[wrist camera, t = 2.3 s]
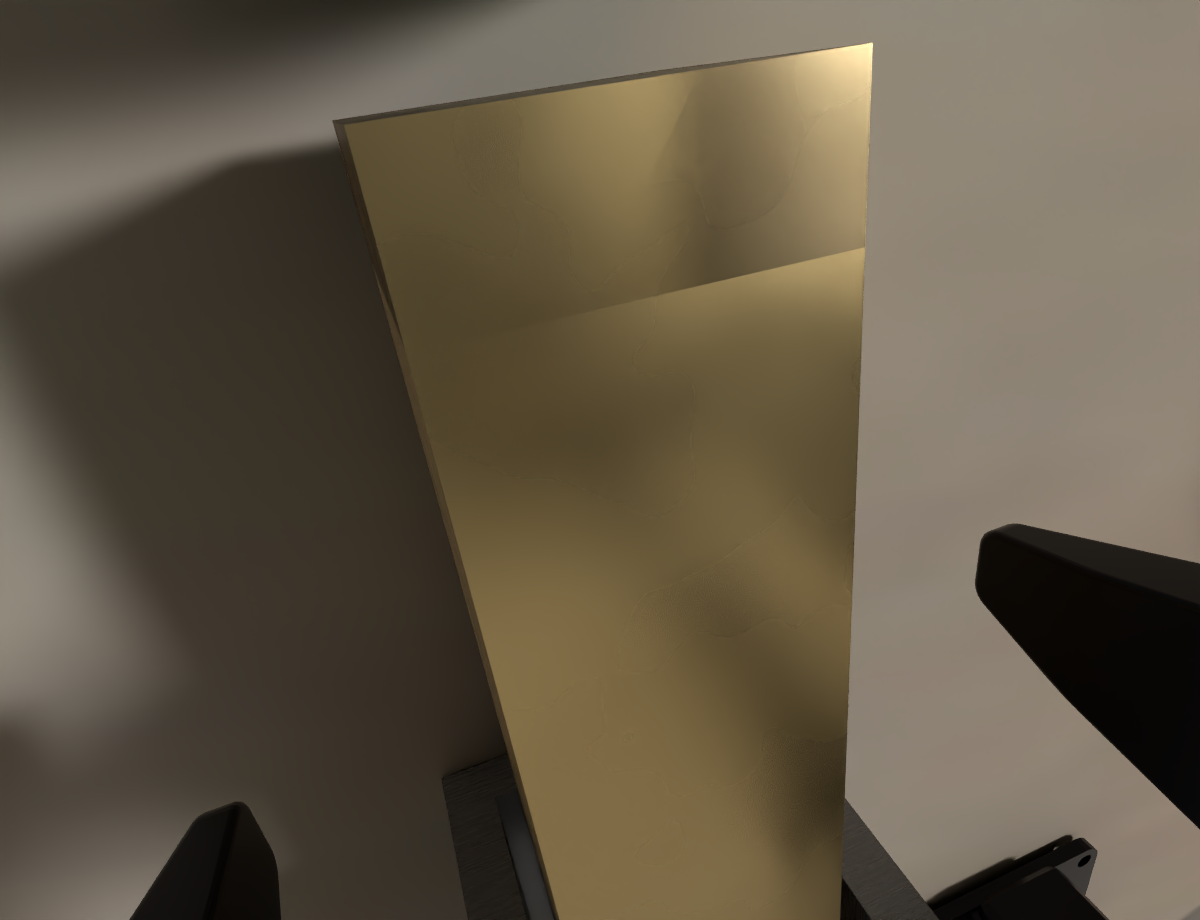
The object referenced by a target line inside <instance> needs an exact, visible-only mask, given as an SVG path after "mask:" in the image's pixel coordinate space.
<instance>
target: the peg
mask: <svg viewBox="0 0 1200 920" xmlns="http://www.w3.org/2000/svg"><path fill="white" fill-rule="evenodd" d="M872 50H873V43H868V44H860V45H852V46H845V47H837V48H829V49H821V50H814V51H806V52H798V53H790V54H783V55H775V56H767V57H759V58H751V59H744V60H736V61H728V62H720V63H713V64H705V65H697V66H689V67H682V68H674V69H666V70H659V71H652V72H646V73H639V74H633V75H626V76H620V77H613V78H607V79H600V80H594V81H587V82H581V83H574V84H567V85H561V86H554V87H548V88H541V89H535V90H528V91H522V92H515V93H509V94H502V95H496V96H489V97H483V98H476V99H469V100H463V101H456V102H450V103H443V104H437V105H430V106H424V107H417V108H411V109H404V110H398V111H391V112H385V113H378V114H371V115H365V116H358V117H352V118H345V119H339V120H332V121H333V124H334V128H335V132H336V135H337V139H338V142H339V146H340V150H341V153H342V157H343V160H344V164H345V168H346V171H347V175H348V178H349V182H350V186H351V189H352V193H353V197H354V200H355V204H356V207H357V211H358V215H359V218H360V222H361V225H362V229H363V233H364V236H365V240H366V243H367V247H368V251H369V254H370V258H371V261H372V265H373V269H374V272H375V276H376V280H377V283H378V287H379V290H380V294H381V298H382V301H383V305H384V308H385V312H386V316H387V319H388V323H389V326H390V330H391V334H392V337H393V341H394V344H395V348H396V352H397V355H398V359H399V363H400V366H401V370H402V373H403V377H404V381H405V384H406V388H407V391H408V395H409V399H410V402H411V406H412V409H413V413H414V417H415V420H416V424H417V428H418V431H419V435H420V438H421V442H422V446H423V449H424V453H425V456H426V460H427V464H428V467H429V471H430V474H431V478H432V482H433V485H434V489H435V492H436V496H437V500H438V503H439V507H440V511H441V514H442V518H443V521H444V525H445V529H446V532H447V536H448V539H449V543H450V547H451V550H452V554H453V557H454V561H455V565H456V568H457V572H458V575H459V579H460V583H461V586H462V590H463V594H464V597H465V601H466V604H467V608H468V612H469V615H470V619H471V622H472V626H473V630H474V633H475V637H476V640H477V644H478V648H479V651H480V655H481V658H482V662H483V666H484V669H485V673H486V677H487V680H488V684H489V687H490V691H491V695H492V698H493V702H494V705H495V709H496V713H497V716H498V720H499V723H500V727H501V731H502V734H503V738H504V741H505V745H506V749H507V752H508V756H509V760H510V763H511V767H512V770H513V774H514V778H515V781H516V785H517V788H518V792H519V796H520V799H521V803H522V806H523V810H524V814H525V817H526V821H527V824H528V828H529V832H530V835H531V839H532V843H533V846H534V850H535V853H536V857H537V861H538V864H539V868H540V871H541V875H542V879H543V882H544V886H545V889H546V893H547V897H548V900H549V904H550V908H551V911H552V915H553V918H554V920H840V907H841V880H842V853H843V827H844V800H845V773H846V746H847V719H848V693H849V666H850V639H851V612H852V586H853V559H854V532H855V505H856V478H857V452H858V425H859V398H860V371H861V345H862V318H863V291H864V264H865V237H866V211H867V184H868V157H869V130H870V104H871V77H872Z"/></svg>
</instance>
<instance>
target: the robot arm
mask: <svg viewBox="0 0 1200 920" xmlns="http://www.w3.org/2000/svg"><path fill="white" fill-rule="evenodd" d="M975 587H976V591H977V594H978V596H979V598H980V600H981V601H982V603H983V604H984V605H985V606H986V608H987V609H988V610H989V611H990V612H991V613H992V614H993V616H994V617H995V618H996V619H997V620H998V621H999V623H1000V624H1001V625H1002V626H1003V627H1004V628H1005V630H1006V631H1007V632H1008V633H1009V634H1010V635H1011V637H1012V638H1013V639H1014V640H1015V641H1016V642H1017V643H1018V645H1019V646H1020V647H1021V648H1022V649H1023V650H1024V652H1025V653H1026V654H1027V655H1028V656H1029V657H1030V659H1031V660H1032V661H1033V662H1034V663H1035V664H1036V665H1037V667H1038V668H1039V669H1040V670H1041V671H1042V672H1043V674H1044V675H1045V676H1046V677H1047V678H1048V679H1049V681H1050V682H1051V683H1052V684H1053V685H1054V686H1055V687H1056V688H1057V689H1058V691H1059V692H1060V693H1061V694H1062V695H1063V696H1064V697H1065V698H1066V699H1067V700H1068V701H1069V702H1070V703H1071V704H1072V705H1073V706H1074V707H1075V708H1076V709H1077V710H1078V711H1079V712H1080V713H1081V714H1082V715H1083V716H1084V717H1085V718H1086V719H1087V720H1088V721H1089V722H1090V723H1091V724H1092V725H1093V726H1094V727H1095V728H1096V729H1097V730H1098V731H1099V732H1100V733H1101V734H1102V735H1103V736H1104V737H1105V738H1106V739H1107V740H1108V741H1109V742H1110V743H1112V744H1113V745H1114V746H1115V747H1116V748H1117V749H1118V750H1119V751H1120V752H1121V753H1122V754H1123V755H1124V756H1125V757H1126V758H1127V759H1128V760H1129V761H1130V762H1131V763H1132V764H1133V765H1134V766H1135V767H1136V768H1137V769H1138V770H1139V771H1140V772H1141V773H1142V774H1143V775H1144V776H1145V777H1146V778H1148V779H1149V780H1150V781H1151V782H1152V783H1153V784H1154V785H1155V786H1156V787H1157V788H1158V789H1159V790H1160V791H1161V792H1162V793H1163V794H1164V795H1165V796H1166V797H1167V798H1168V799H1169V800H1170V801H1171V802H1172V803H1173V804H1174V805H1175V806H1176V807H1177V808H1178V809H1179V810H1180V811H1181V812H1182V813H1183V814H1185V815H1186V816H1187V817H1188V818H1189V819H1190V820H1191V821H1192V822H1193V823H1194V824H1195V825H1196V826H1197V827H1198V828H1199V829H1200V564H1199V563H1195V562H1190V561H1186V560H1181V559H1177V558H1172V557H1167V556H1163V555H1158V554H1154V553H1149V552H1145V551H1140V550H1136V549H1131V548H1127V547H1122V546H1118V545H1113V544H1108V543H1104V542H1099V541H1095V540H1090V539H1086V538H1081V537H1077V536H1072V535H1068V534H1063V533H1058V532H1054V531H1049V530H1045V529H1040V528H1036V527H1031V526H1027V525H1022V524H1008V525H1005V526H1002V527H1000V528H997V529H994V530H991V531H989V532H987V533H986V534H984V536H983V537H982V539H981V542H980V548H979V556H978V563H977V571H976V578H975ZM1096 857H1097V850H1096V849H1095V848H1094V847H1093V846H1092V845H1091V844H1090V843H1089V842H1087V841H1086V840H1085V839H1084V838H1078V839H1075V840H1073V841H1071V842H1069V843H1067V844H1065V845H1063V846H1061V847H1059V848H1057V849H1055V850H1053V851H1051V852H1049V853H1047V854H1045V855H1043V856H1041V857H1039V858H1037V859H1035V860H1033V861H1031V862H1029V863H1027V864H1025V865H1023V866H1021V867H1019V868H1017V869H1015V870H1013V871H1011V872H1009V873H1007V874H1005V875H1003V876H1001V877H999V878H997V879H995V880H993V881H991V882H989V883H987V884H985V885H983V886H981V887H979V888H977V889H975V890H973V891H971V892H969V893H967V894H965V895H963V896H961V897H959V898H957V899H955V900H953V901H951V902H949V903H947V904H945V905H943V906H941V907H939V908H937V909H935V910H933V912H934V914H935V915H936V916H937V918H938V919H939V920H1109V919H1108V918H1107V917H1106V916H1105V915H1104V914H1103V913H1102V912H1101V911H1100V910H1099V909H1098V908H1097V907H1096V906H1095V905H1094V904H1093V903H1092V902H1091V901H1090V900H1089V899H1088V898H1087V897H1086V896H1085V894H1086V890H1087V887H1088V884H1089V880H1090V877H1091V874H1092V870H1093V867H1094V863H1095V860H1096ZM130 920H281V910H280V895H279V881H278V870H277V864H276V860H275V857H274V854H273V851H272V849H271V847H270V845H269V843H268V842H267V840H266V838H265V836H264V834H263V832H262V831H261V829H260V827H259V825H258V823H257V821H256V820H255V818H254V816H253V814H252V812H251V810H250V809H249V807H248V806H247V805H246V804H245V803H243V802H233V803H231V804H228V805H225V806H222V807H220V808H217V809H214V810H211V811H208V812H206V813H203V814H201V815H200V816H198V817H197V818H196V820H195V821H194V822H193V823H192V824H191V826H190V827H189V829H188V830H187V832H186V833H185V835H184V837H183V838H182V840H181V841H180V843H179V844H178V846H177V847H176V849H175V850H174V852H173V853H172V855H171V857H170V858H169V860H168V861H167V863H166V864H165V866H164V867H163V869H162V870H161V872H160V873H159V875H158V877H157V878H156V880H155V881H154V883H153V884H152V886H151V887H150V889H149V890H148V892H147V894H146V895H145V897H144V898H143V900H142V901H141V903H140V904H139V906H138V907H137V909H136V910H135V912H134V914H133V915H132V917H131V918H130Z"/></svg>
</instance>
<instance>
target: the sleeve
mask: <svg viewBox="0 0 1200 920" xmlns="http://www.w3.org/2000/svg"><path fill="white" fill-rule="evenodd" d="M442 784H443V789H444V795H445V800H446V805H447V811H448V816H449V821H450V827H451V832H452V837H453V843H454V848H455V853H456V859H457V864H458V869H459V874H460V880H461V885H462V890H463V896H464V901H465V906H466V912H467V917H468V920H554V918H553V915H552V911H551V908H550V904H549V900H548V897H547V893H546V889H545V886H544V882H543V879H542V875H541V871H540V868H539V864H538V861H537V857H536V853H535V850H534V846H533V843H532V839H531V835H530V832H529V828H528V824H527V821H526V817H525V814H524V810H523V806H522V803H521V799H520V796H519V792H518V788H517V785H516V781H515V778H514V774H513V770H512V767H511V763H510V760H509V756H508V754H506V755H504V756H501V757H498V758H496V759H493V760H490V761H488V762H485V763H482V764H480V765H477V766H474V767H472V768H469V769H466V770H464V771H461V772H458V773H456V774H453V775H450V776H448V777H445V778H442ZM840 920H939V919H938V918H937V916H936V915H935V914H934V912H933V911H932V910H931V909H930V907H929V906H928V905H927V903H926V902H925V901H924V900H923V898H922V897H921V896H920V894H919V893H918V892H917V891H916V889H915V888H914V887H913V885H912V884H911V883H910V881H909V880H908V879H907V878H906V876H905V875H904V874H903V872H902V871H901V870H900V869H899V867H898V866H897V865H896V863H895V862H894V861H893V859H892V858H891V857H890V856H889V854H888V853H887V852H886V850H885V849H884V848H883V847H882V845H881V844H880V843H879V841H878V840H877V839H876V837H875V836H874V835H873V834H872V832H871V831H870V830H869V828H868V827H867V826H866V825H865V823H864V822H863V821H862V819H861V818H860V817H859V815H858V814H857V813H856V812H855V810H854V809H853V808H852V806H851V805H850V804H849V803H848V801H847V800H846V799H845V800H844V827H843V853H842V880H841V907H840Z"/></svg>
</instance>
